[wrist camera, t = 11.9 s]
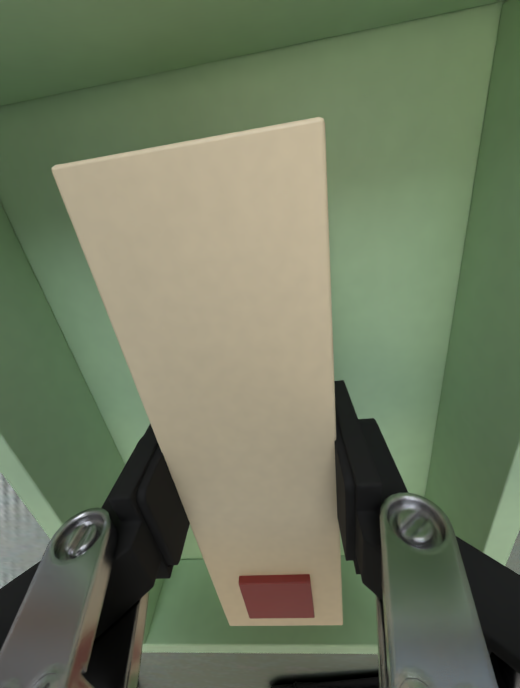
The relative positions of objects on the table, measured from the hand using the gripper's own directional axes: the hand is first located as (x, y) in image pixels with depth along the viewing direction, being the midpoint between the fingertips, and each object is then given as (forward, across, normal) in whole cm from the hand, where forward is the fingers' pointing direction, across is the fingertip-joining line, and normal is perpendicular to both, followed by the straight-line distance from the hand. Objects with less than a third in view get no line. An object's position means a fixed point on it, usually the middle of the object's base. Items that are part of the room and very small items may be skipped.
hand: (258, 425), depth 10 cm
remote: (+1, 0, 0) cm, 1 cm away
